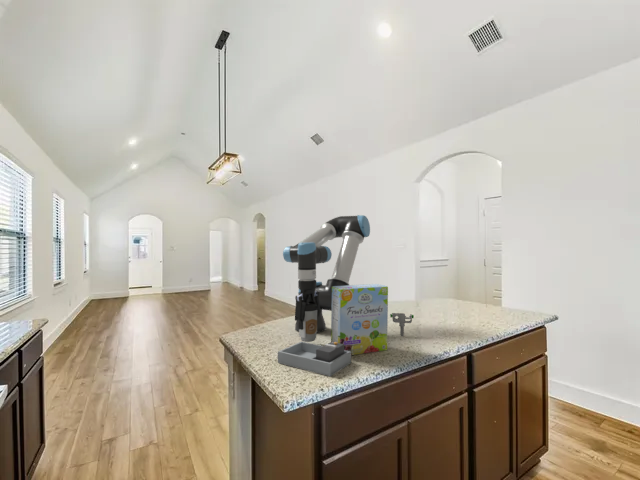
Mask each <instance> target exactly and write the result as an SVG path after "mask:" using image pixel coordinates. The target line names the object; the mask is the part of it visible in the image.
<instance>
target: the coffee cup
mask: <svg viewBox="0 0 640 480" xmlns="http://www.w3.org/2000/svg"><path fill="white" fill-rule="evenodd" d="M305 303H306V302H305ZM304 306H305V308H302V309H305V318H304V321H305V327H306V337H305V338H303V337H300V339H301V341H302V342H307V343H311V342H315V341H316V339H317V333H316V331H317V309H318V308H317V307H318V306H317V304H316V303H308V305H302V307H304Z"/></svg>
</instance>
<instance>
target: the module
mask: <svg viewBox="0 0 640 480" xmlns="http://www.w3.org/2000/svg"><path fill="white" fill-rule="evenodd" d="M321 346H322V347H320V348H318V349H316V360H320V361H325V362H329V363H330V362H331V361H333V360H335V359H336V358H338V357H340V356H342V355H343V354H344V344H340V343H337V342H331V341H330V342H329V343H326V344H324V345H321Z"/></svg>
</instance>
